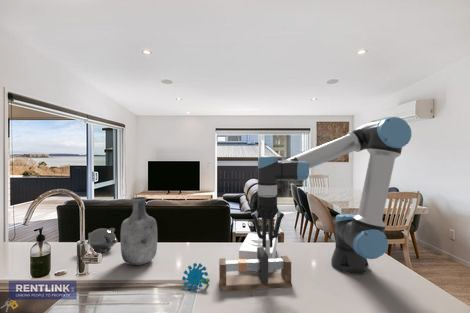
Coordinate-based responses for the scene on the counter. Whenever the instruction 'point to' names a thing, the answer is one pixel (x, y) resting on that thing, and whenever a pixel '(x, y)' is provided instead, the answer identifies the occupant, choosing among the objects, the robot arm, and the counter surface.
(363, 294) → the counter surface
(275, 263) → the light grey bar
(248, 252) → the white pegged block
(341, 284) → the counter surface
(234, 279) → the wooden stand
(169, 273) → the counter surface
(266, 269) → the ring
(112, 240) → the piggy bank
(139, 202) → the vase
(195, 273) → the gear
